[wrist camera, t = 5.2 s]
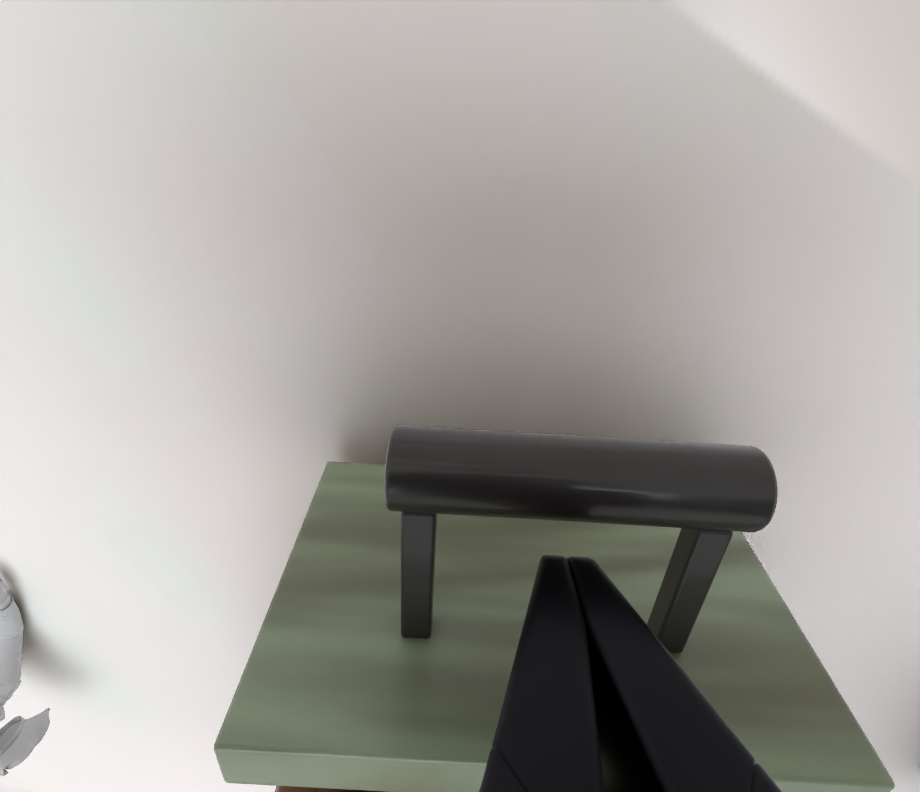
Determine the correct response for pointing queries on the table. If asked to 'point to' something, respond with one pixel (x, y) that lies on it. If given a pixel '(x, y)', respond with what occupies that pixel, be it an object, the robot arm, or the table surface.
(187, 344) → the table surface
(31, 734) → the soldier figure
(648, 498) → the drawer
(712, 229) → the table surface
